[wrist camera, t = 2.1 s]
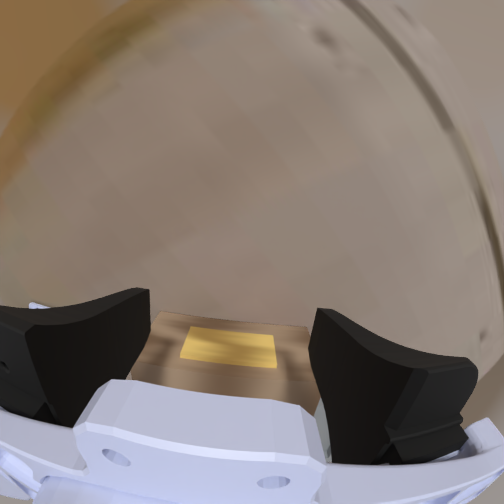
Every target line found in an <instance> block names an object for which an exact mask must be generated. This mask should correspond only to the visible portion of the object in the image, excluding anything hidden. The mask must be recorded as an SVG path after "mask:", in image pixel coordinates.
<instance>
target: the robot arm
mask: <svg viewBox="0 0 504 504" xmlns="http://www.w3.org/2000/svg"><path fill="white" fill-rule="evenodd" d="M150 332H151V322H150V293H149V289H143V288H131V289H127V290H124V291H121V292H117V293H114V294H111V295H108V296H105V297H102V298H99V299H95V300H92V301H88V302H85V303H81V304H76V305H70V306H64V307H55V308H50V307H46V306H43V305H40V304H37V303H34V302H31V303H30V304H29V308H15V307H8V306H1V305H0V495H2V496H7V497H11V498H16V499H21V500H30V499H31V498H32V499H33V500H34V501H33V503H32V504H466V503H468V502H469V501H471V500H473V499H474V498H476V497H477V496H478V495H479V494H481V493H482V492H483V491H484V490H485V489H486V488H487V487H488V486H489V485H491V483H493V482H494V481H495V480H496V479H497V478H498V477H499V476H500V475H501V474H502V473H503V472H504V437H503V436H502V434H501V433H500V432H499V430H498V429H497V428H496V427H495V426H494V424H493V423H492V422H491V420H490V419H489V418H488V417H487V418H484V419H482V420H480V421H477V422H475V423H473V424H471V425H469V426H467V427H466V428H465V429H464V430H463V429H462V427H461V426H460V424H461V423H462V422H463V417H462V416H461V415H460V411H461V410H462V408H463V407H464V405H465V404H466V402H467V400H468V399H469V397H470V395H471V394H472V392H473V390H474V388H475V386H476V383H477V379H478V369H477V367H476V365H474V364H473V363H472V362H471V361H470V360H469V359H468V358H465V357H453V356H443V355H436V354H431V353H426V352H422V351H418V350H414V349H411V348H408V347H404V346H402V345H399V344H396V343H394V342H391V341H389V340H387V339H384V338H382V337H380V336H378V335H376V334H374V333H372V332H371V331H369V330H367V329H365V328H363V327H362V326H360V325H358V324H357V323H355V322H353V321H352V320H350V319H349V318H347V317H345V316H344V315H342V314H340V313H338V312H337V311H335V310H332V309H324V308H317V312H316V316H315V320H314V325H313V329H312V333H311V337H310V342H309V346H308V352H309V359H310V365H311V368H312V372H313V375H314V378H315V381H316V384H317V387H318V390H319V393H320V396H321V399H322V402H323V406H324V409H325V414H326V419H327V425H328V431H329V439H330V447H331V457H332V463H328V462H326V460H325V456H324V452H323V448H322V444H321V440H320V435H319V431H318V427H317V423H316V419H315V418H314V417H313V416H311V415H310V414H309V413H308V412H307V411H306V410H304V409H303V408H302V407H301V406H300V405H295V404H290V403H286V402H281V401H277V400H272V399H259V398H245V397H234V396H224V395H216V394H208V393H201V392H194V391H188V390H182V389H176V388H170V387H165V386H160V385H155V384H150V383H146V382H141V381H137V380H125V379H126V377H127V375H128V374H129V372H130V370H131V369H132V367H133V365H134V364H135V362H136V360H137V359H138V357H139V355H140V354H141V352H142V350H143V349H144V347H145V344H146V342H147V340H148V337H149V334H150Z"/></svg>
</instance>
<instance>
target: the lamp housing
mask: <svg viewBox="0 0 504 504" xmlns="http://www.w3.org/2000/svg"><path fill="white" fill-rule="evenodd" d="M309 342H310V335H309V332H308V329H307V327H298V326H284V325H271V324H260V323H249V322H239V321H230V320H221V319H213V318H205V317H197V316H190V315H183V314H176V313H169V312H163V311H160V313H159V314H158V316H157V317H156V319H155V320H154V322H153V323H152V325H151V332H150V334H149V337H148V340H147V342H146V344H145V347H144V349H143V350H142V352H141V354H140V355H139V357H138V359H137V360H136V362H135V364H134V365H133V367H132V369H131V375H132V380H137V381H141V382H146V383H150V384H155V385H160V386H165V387H170V388H176V389H182V390H188V391H194V392H201V393H208V394H216V395H224V396H234V397H245V398H259V399H272V400H277V401H281V402H286V403H290V404H295V405H300V406H301V407H302V408H303V409H304V410H306V411H307V412H308V413H309V414H310V415H311V416H314V414H315V411H316V409H317V406H318V403H319V401H320V398H321V396H320V393H319V390H318V387H317V384H316V381H315V378H314V375H313V372H312V368H311V365H310V359H309V352H308V346H309Z"/></svg>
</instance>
